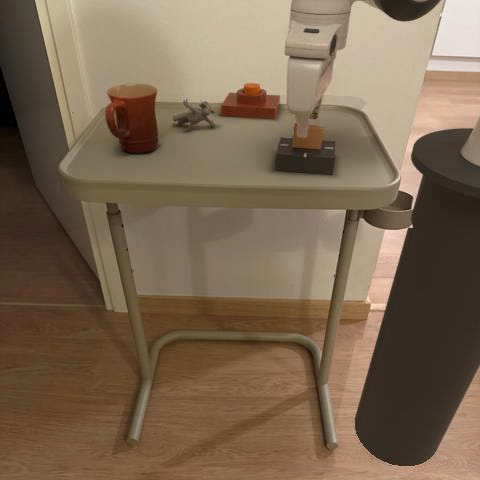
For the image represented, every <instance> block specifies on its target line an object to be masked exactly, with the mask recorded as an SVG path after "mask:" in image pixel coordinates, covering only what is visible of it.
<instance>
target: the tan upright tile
mask: <svg viewBox="0 0 480 480" xmlns="http://www.w3.org/2000/svg"><path fill="white" fill-rule="evenodd" d="M296 132H297V123H296V122H295V123H294V125H293V131H292V138H293V143H292V147H294V148H308V149H321V143H322V140H323V134H324V125H315V124H310V126H309V133H308V135H307V137H306V138H302V137H298V136H297V135H296Z"/></svg>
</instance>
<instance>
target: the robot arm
mask: <svg viewBox="0 0 480 480" xmlns="http://www.w3.org/2000/svg"><path fill="white" fill-rule="evenodd" d="M358 1H359V2H362V3H364V4H367V5H368V6H370V7H372V8H375V9H377V10H380V12H382V13H384V14H385V15H386V16H388V17H389V18H391V19H393V20H395V21H398V22H404V23H405V22H412V21H415V20H419V19H421V18H422V17H424V16H426V15H428V14H429V13H431V11H432V10H434V9H435V8H436V7H437V6H438V5H439V4H440V2H441V1H442V0H291V3H290V11H289V23H288V32H287V36H286V39H285V41H284V42H285V43H284V55H285V56H286V57H288V59H287V70H286V106H287V107H286V108H287V111H288V113H289V114H290V115H295V124H296V123H297V132H296V135H297V136H298V137H302V138H306V137H307V135H308V133H309V126H310V125H311V124H310V120H317V119H318V118H319V116H320V111H321V105H322V101H323V97H324V94H325V92H326V91H327V89H328V88H329V86H330V85H331V82H332V79H333V71H334V64H335V60H336V58H337V52H338V51H341V50H344V49H345V48H346V46H347V39H348V33H349V27H350V19H351V12H352V6H353V5H354V3H356V2H358ZM473 128H474V129H473V131H472V133H471V134H470V136H469V138H468V140H467V141H466V143H465V144H464V146H463V147H462V149H461V151H460V153H461V155H462V156H463V157H464V158H465V159H466V160H467V161H469V162H471V163H473V164H475V165H477V166H480V115H479V116H478V118H477V121H476V122H475V125H474V127H473Z"/></svg>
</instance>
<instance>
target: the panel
mask: <svg viewBox="0 0 480 480" xmlns="http://www.w3.org/2000/svg"><path fill="white" fill-rule="evenodd" d="M292 143H293V137H283V136H282V137H280V139H279V142H278V145H277V149H276V154H275V161H274V162H275V165H274V171H277V172H278V171H280V172H290V173H302V174H303V173H304V174H314V175H315V174H317V175H329V176H333V173H334V166H335V160H336V140H328V139H322V143H321V149H308V148H294V147H292Z"/></svg>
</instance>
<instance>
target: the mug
mask: <svg viewBox="0 0 480 480" xmlns="http://www.w3.org/2000/svg"><path fill="white" fill-rule="evenodd" d="M106 95H107V97H108V99H109V101H110V103H109V104H107V105H106V107H105V111H104V112H105V113H104V115H105V116H104V117H105V122H106V125H107V128H108V130H109V131H110V134H111V135H112V136H113V137H115V138H117V139H118V143H119V145H120V148H121V149H122V150H123V151H125V152H126V153H129V154H134V155H141V154H147V153H150V152H152V151H154V150H155V149H156V148H157V147H158V144H159V132H158V131H159V130H158V122H157V121H158V120H157V115H156V101H157V95H158V89H157V87H156V86H153V85H151V84H146V83H123V84H118V85H114V86H111V87H109V88H108V89H107V90H106Z"/></svg>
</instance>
